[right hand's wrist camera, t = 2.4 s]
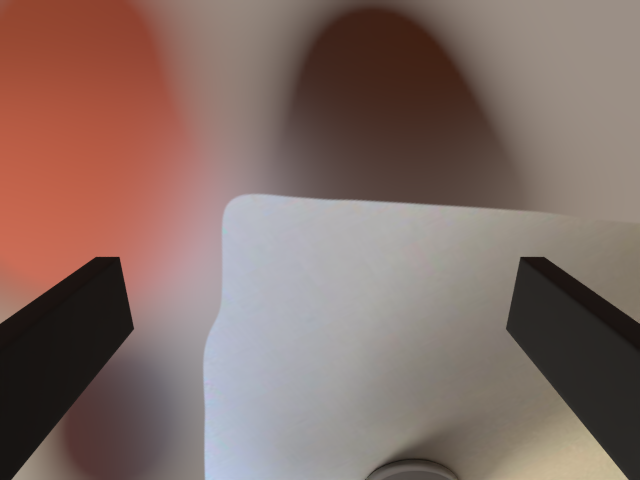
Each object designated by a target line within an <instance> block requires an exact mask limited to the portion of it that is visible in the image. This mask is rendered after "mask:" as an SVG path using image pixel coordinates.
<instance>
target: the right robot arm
mask: <svg viewBox="0 0 640 480" xmlns="http://www.w3.org/2000/svg"><path fill="white" fill-rule="evenodd" d="M133 330H134V327H133V322H132V317H131V312H130V307H129V302H128V297H127V292H126V287H125V282H124V277H123V272H122V267H121V262H120V258H119V257H95V258H94V259H92V260H91V261H90V262H88V263H87V264H85V265H84V266H82V267H81V268H79V269H78V270H77V271H75V272H74V273H72V274H71V275H69V276H68V277H67V278H65V279H64V280H62V281H61V282H59V283H58V284H57V285H55V286H54V287H52V288H51V289H49V290H48V291H47V292H45V293H44V294H42V295H41V296H39V297H38V298H37V299H35V300H34V301H32V302H31V303H29V304H28V305H27V306H25V307H24V308H22V309H21V310H19V311H18V312H17V313H15V314H14V315H12V316H11V317H9V318H8V319H7V320H5V321H4V322H2V323H1V324H0V480H11V479H12V478H13V477H14V476H15V474H16V473H17V472H18V471H19V470H20V468H21V467H22V466H23V465H24V463H25V462H26V461H27V460H28V459H29V457H30V456H31V455H32V454H33V452H34V451H35V450H36V449H37V448H38V446H39V445H40V444H41V443H42V441H43V440H44V439H45V438H46V436H47V435H48V434H49V433H50V432H51V430H52V429H53V428H54V427H55V425H56V424H57V423H58V422H59V420H60V419H61V418H62V417H63V415H64V414H65V413H66V412H67V411H68V409H69V408H70V407H71V406H72V404H73V403H74V402H75V401H76V400H77V398H78V397H79V396H80V395H81V393H82V392H83V391H84V390H85V389H86V387H87V386H88V385H89V384H90V382H91V381H92V380H93V379H94V377H95V376H96V375H97V374H98V373H99V371H100V370H101V369H102V368H103V366H104V365H105V364H106V363H107V362H108V360H109V359H110V358H111V357H112V355H113V354H114V353H115V352H116V350H117V349H118V348H119V347H120V346H121V344H122V343H123V342H124V341H125V339H126V338H127V337H128V336H129V334H130V333H131V332H132V331H133ZM506 330H507V331H508V332H509V333H510V334H511V336H512V337H513V338H514V339H515V341H516V342H517V343H518V344H519V346H520V347H521V348H522V349H523V350H524V352H525V353H526V354H527V355H528V357H529V358H530V359H531V360H532V362H533V363H534V364H535V365H536V366H537V368H538V369H539V370H540V371H541V373H542V374H543V375H544V376H545V377H546V379H547V380H548V381H549V382H550V384H551V385H552V386H553V387H554V389H555V390H556V391H557V392H558V393H559V395H560V396H561V397H562V398H563V400H564V401H565V402H566V403H567V405H568V406H569V407H570V408H571V409H572V411H573V412H574V413H575V414H576V416H577V417H578V418H579V419H580V420H581V422H582V423H583V424H584V425H585V427H586V428H587V429H588V430H589V432H590V433H591V434H592V435H593V436H594V438H595V439H596V440H597V441H598V443H599V444H600V445H601V446H602V448H603V449H604V450H605V451H606V452H607V454H608V455H609V456H610V457H611V459H612V460H613V461H614V462H615V464H616V465H617V466H618V467H619V468H620V470H621V471H622V472H623V473H624V475H625V476H626V477H627V478H628V479H629V480H640V324H639V323H638V322H636V321H635V320H633V319H632V318H631V317H629V316H628V315H626V314H625V313H623V312H622V311H621V310H619V309H618V308H616V307H615V306H613V305H612V304H611V303H609V302H608V301H606V300H605V299H603V298H602V297H601V296H599V295H598V294H596V293H595V292H593V291H592V290H591V289H589V288H588V287H586V286H585V285H583V284H582V283H581V282H579V281H578V280H576V279H575V278H573V277H572V276H571V275H569V274H568V273H566V272H565V271H563V270H562V269H561V268H559V267H558V266H556V265H555V264H553V263H552V262H550V261H549V260H548V259H546V258H545V257H520V262H519V267H518V272H517V277H516V282H515V287H514V292H513V297H512V302H511V307H510V312H509V317H508V322H507V326H506ZM366 480H458V479H457V478H456V476H455V475H454V474H453V473H452V472H451V471H450V470H448V469H447V468H445V467H444V466H442V465H439V464H437V463H434V462H430V461H425V460H403V461H398V462H394V463H391V464H388V465H385V466H383V467H381V468H379V469H378V470H376V471H375V472H373V473H372V474H371V475H370V476H369V477H368V478H367V479H366Z"/></svg>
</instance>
